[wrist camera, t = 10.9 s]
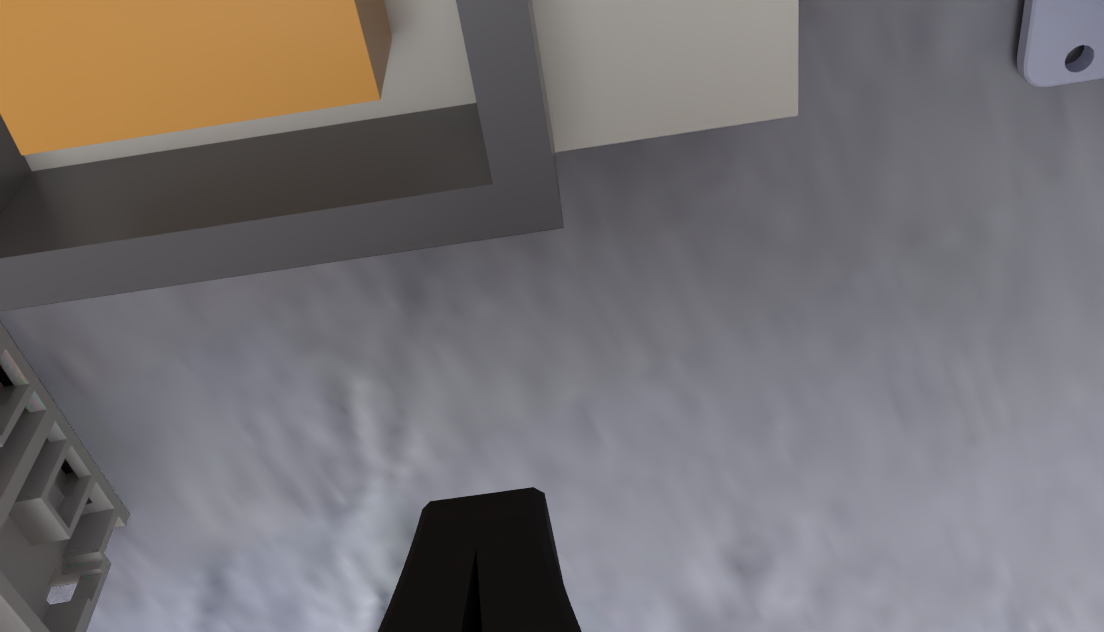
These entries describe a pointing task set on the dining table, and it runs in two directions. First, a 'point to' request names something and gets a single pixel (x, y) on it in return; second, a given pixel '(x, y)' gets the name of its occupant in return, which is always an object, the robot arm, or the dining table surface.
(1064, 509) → the dining table surface
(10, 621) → the circuit breaker
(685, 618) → the dining table surface
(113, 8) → the button
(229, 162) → the slider control box
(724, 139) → the dining table surface
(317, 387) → the dining table surface
